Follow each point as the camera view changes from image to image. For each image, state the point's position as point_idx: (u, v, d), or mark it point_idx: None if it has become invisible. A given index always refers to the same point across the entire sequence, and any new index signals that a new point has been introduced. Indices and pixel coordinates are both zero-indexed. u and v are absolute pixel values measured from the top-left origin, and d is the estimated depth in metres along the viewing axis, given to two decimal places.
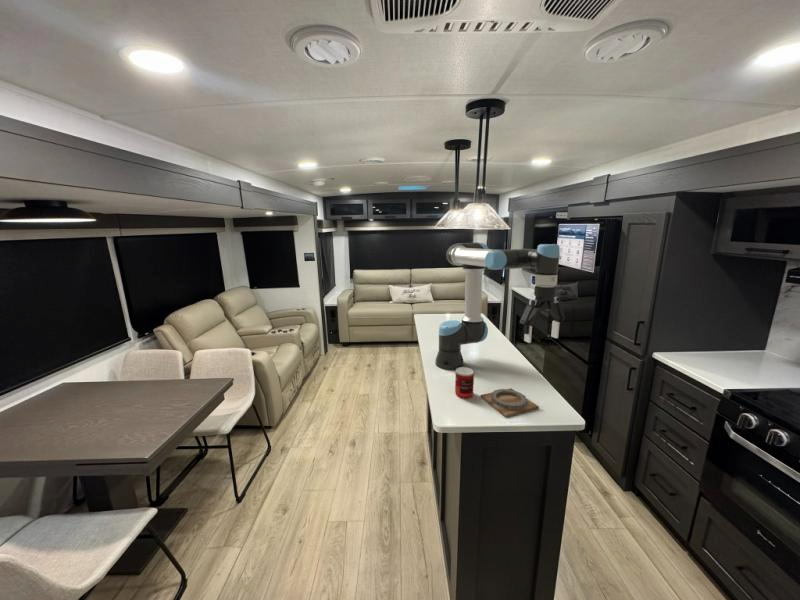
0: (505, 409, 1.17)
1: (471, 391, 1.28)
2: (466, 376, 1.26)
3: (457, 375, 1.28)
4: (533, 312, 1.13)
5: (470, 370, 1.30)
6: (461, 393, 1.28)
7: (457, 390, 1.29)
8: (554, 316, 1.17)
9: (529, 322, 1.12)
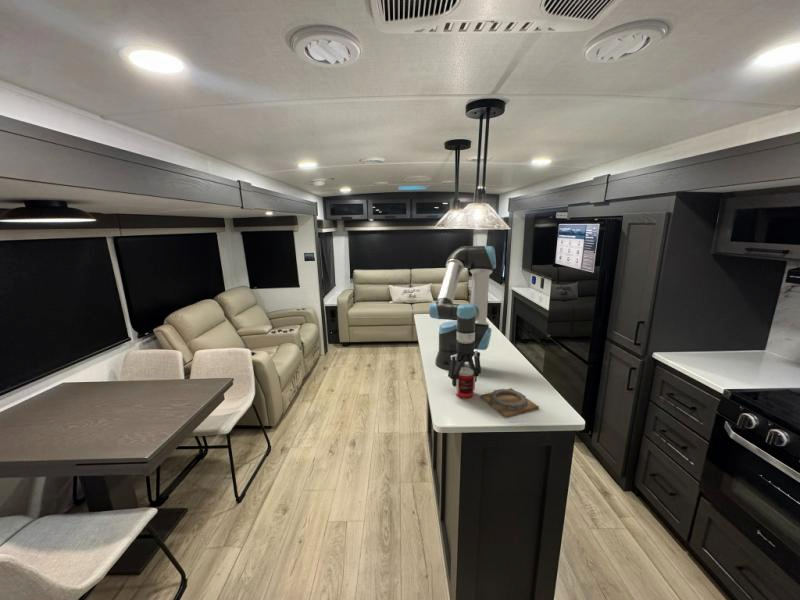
0: (505, 409, 1.17)
1: (471, 391, 1.28)
2: (466, 376, 1.26)
3: None
4: (457, 366, 1.27)
5: (470, 370, 1.30)
6: (461, 393, 1.28)
7: None
8: (472, 369, 1.30)
9: (455, 376, 1.27)
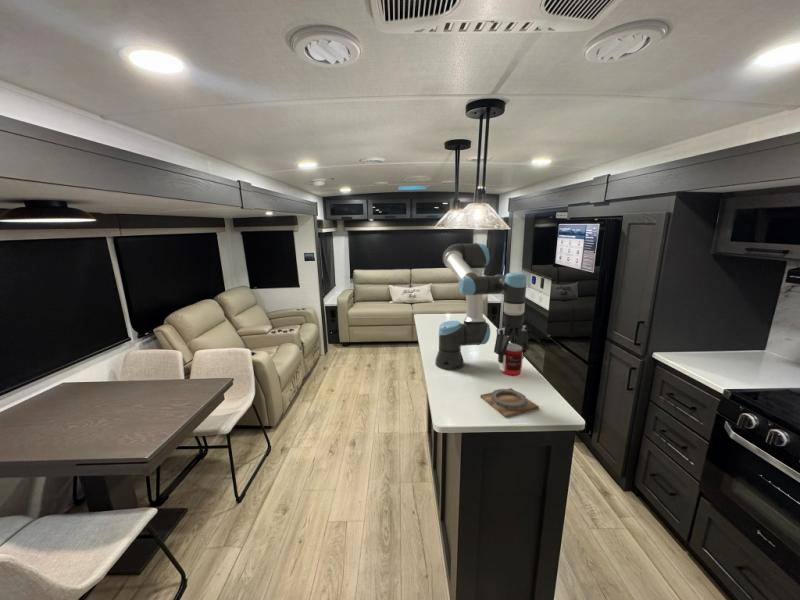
0: (505, 409, 1.17)
1: (519, 368, 1.17)
2: (515, 351, 1.15)
3: None
4: (504, 341, 1.17)
5: (517, 346, 1.20)
6: (508, 370, 1.17)
7: None
8: None
9: (502, 352, 1.16)
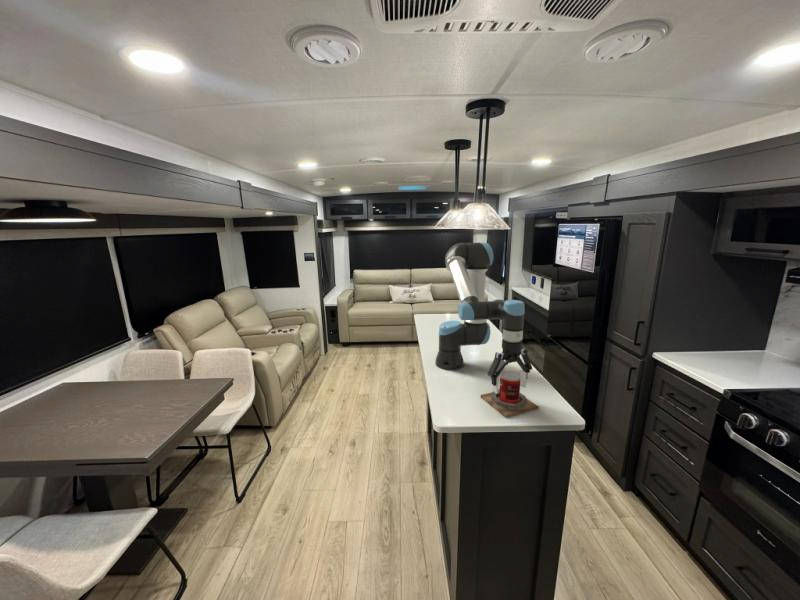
0: (505, 409, 1.17)
1: (518, 397, 1.20)
2: (513, 381, 1.18)
3: (503, 380, 1.20)
4: (500, 364, 1.19)
5: (516, 374, 1.22)
6: (507, 399, 1.20)
7: (502, 396, 1.21)
8: (521, 367, 1.23)
9: (496, 375, 1.17)
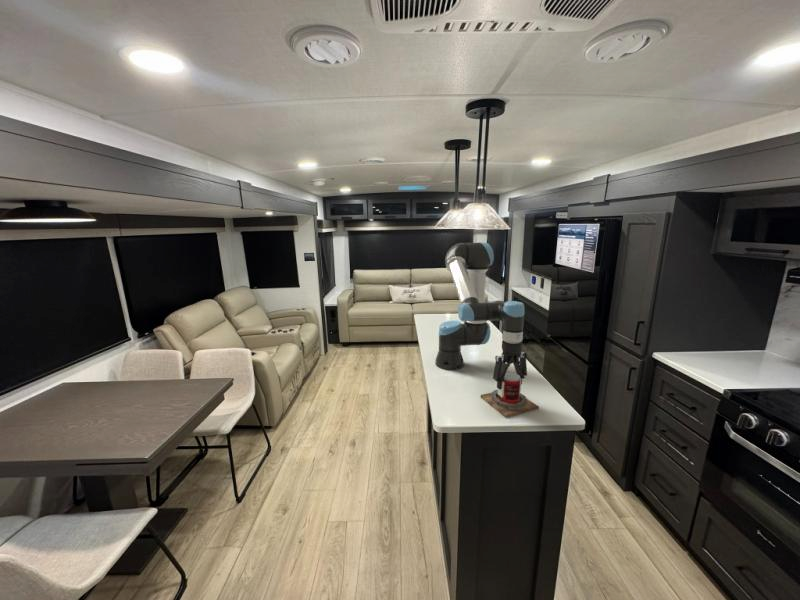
0: (505, 409, 1.17)
1: (517, 397, 1.20)
2: (513, 381, 1.18)
3: None
4: (503, 367, 1.19)
5: (515, 375, 1.22)
6: (507, 399, 1.20)
7: None
8: (517, 371, 1.22)
9: (501, 379, 1.18)
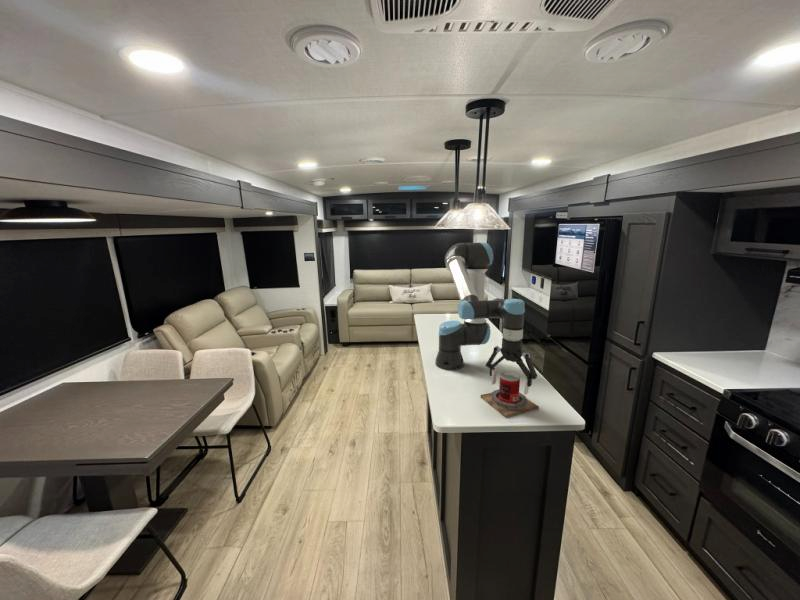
0: (505, 409, 1.17)
1: (508, 398, 1.19)
2: (503, 379, 1.20)
3: None
4: (498, 359, 1.23)
5: (516, 378, 1.20)
6: (499, 395, 1.23)
7: None
8: None
9: (491, 366, 1.25)
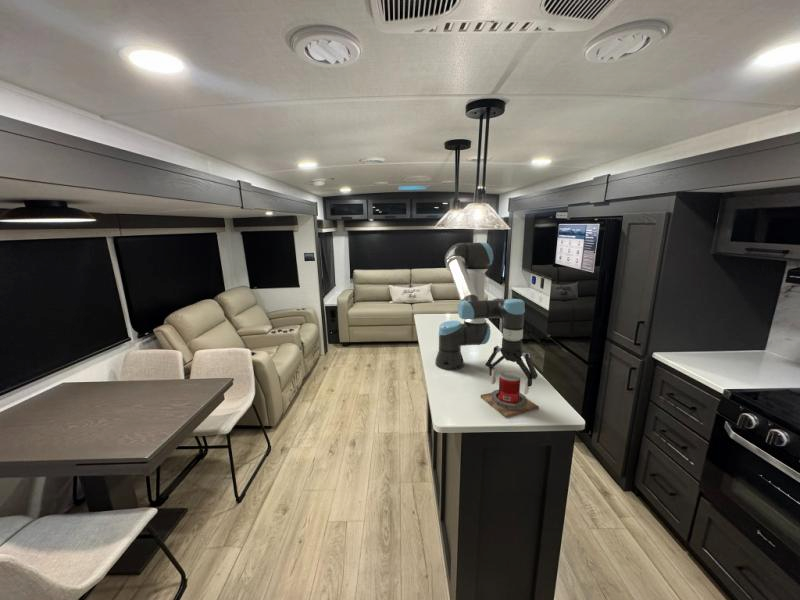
0: (505, 409, 1.17)
1: (499, 394, 1.22)
2: None
3: None
4: None
5: (511, 379, 1.19)
6: None
7: None
8: None
9: (490, 365, 1.25)
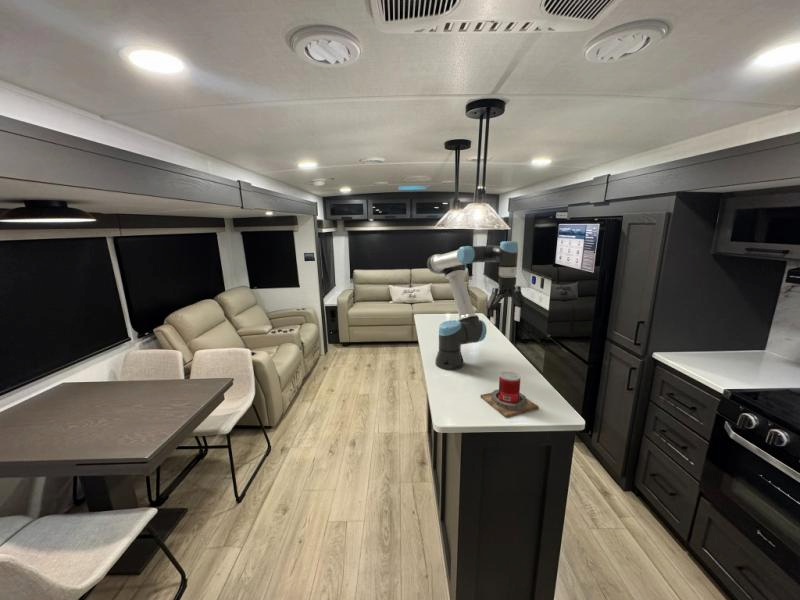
0: (505, 409, 1.17)
1: (499, 394, 1.22)
2: None
3: None
4: (497, 298, 1.34)
5: (511, 379, 1.19)
6: None
7: None
8: (516, 302, 1.38)
9: (493, 307, 1.33)
